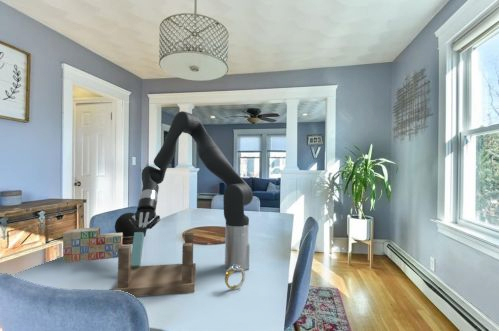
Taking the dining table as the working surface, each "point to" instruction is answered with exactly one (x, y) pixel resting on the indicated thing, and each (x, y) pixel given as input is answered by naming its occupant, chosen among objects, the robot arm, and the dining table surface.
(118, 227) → the black ball on pedestal
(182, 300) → the dining table surface
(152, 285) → the wooden rack
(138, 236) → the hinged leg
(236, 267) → the bracelet
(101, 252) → the stack of blocks
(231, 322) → the dining table surface
